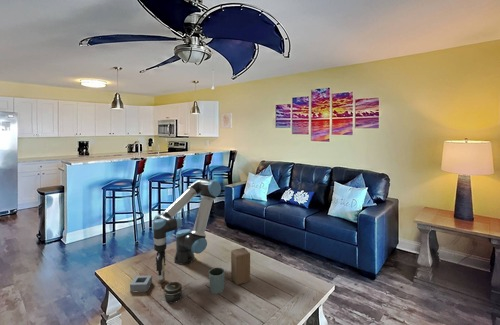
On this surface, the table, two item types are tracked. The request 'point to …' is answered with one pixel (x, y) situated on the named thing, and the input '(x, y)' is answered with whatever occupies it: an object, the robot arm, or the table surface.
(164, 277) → the peg
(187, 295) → the table surface
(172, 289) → the jar
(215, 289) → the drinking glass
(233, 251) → the wooden block
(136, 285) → the socket
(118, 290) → the table surface
